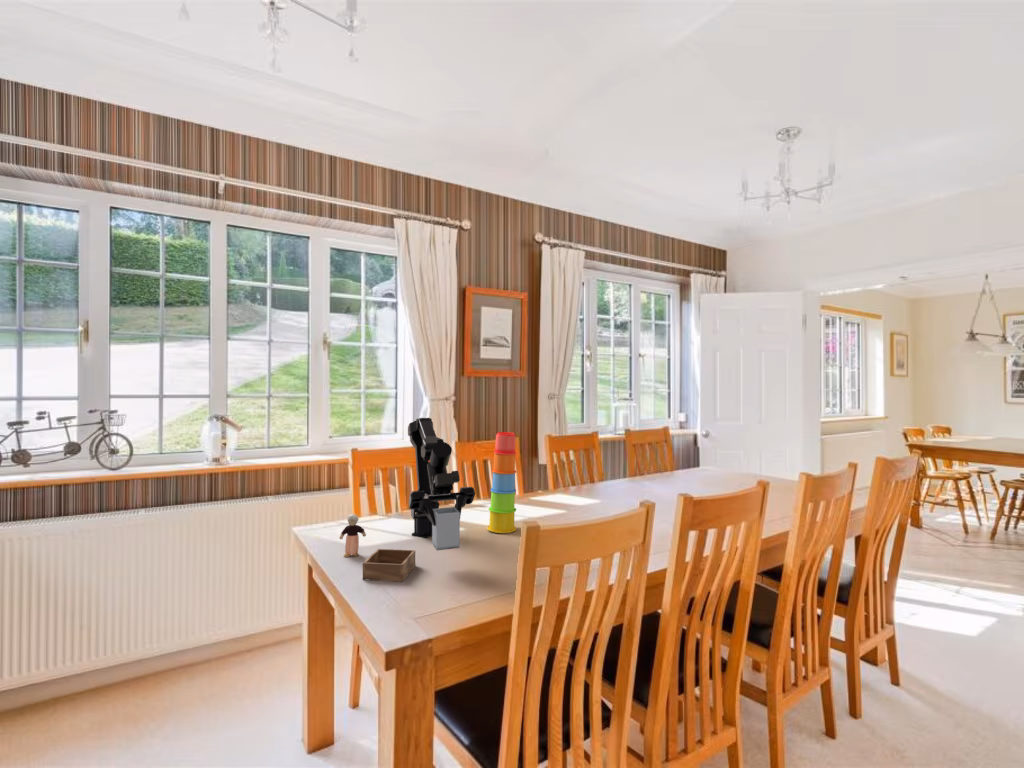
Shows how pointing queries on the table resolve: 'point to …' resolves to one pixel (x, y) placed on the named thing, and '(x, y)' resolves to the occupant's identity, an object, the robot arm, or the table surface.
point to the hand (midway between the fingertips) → (446, 523)
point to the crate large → (389, 564)
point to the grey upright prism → (446, 528)
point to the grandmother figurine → (352, 536)
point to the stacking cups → (503, 485)
